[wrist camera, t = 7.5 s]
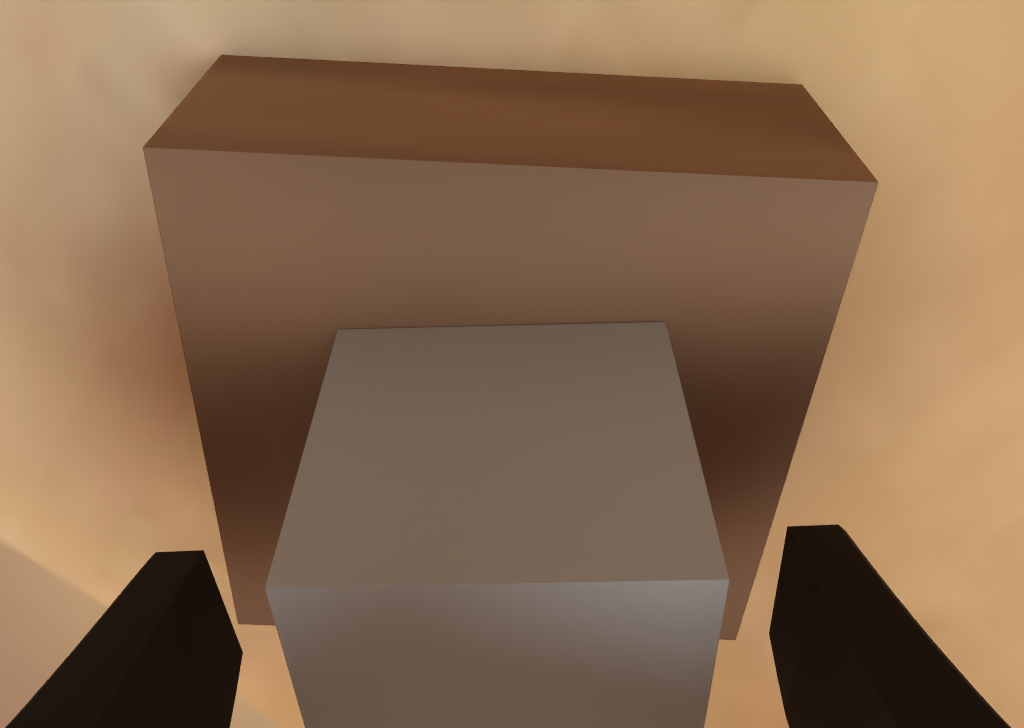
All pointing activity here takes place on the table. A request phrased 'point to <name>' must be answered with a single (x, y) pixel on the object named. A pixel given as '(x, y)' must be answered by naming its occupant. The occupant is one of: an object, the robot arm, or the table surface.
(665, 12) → the table surface
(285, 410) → the walnut block
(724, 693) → the table surface
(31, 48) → the table surface
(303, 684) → the grey cube
